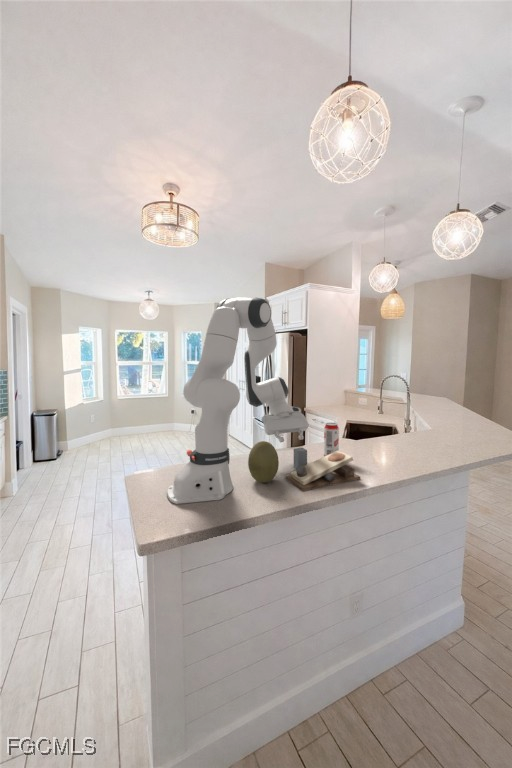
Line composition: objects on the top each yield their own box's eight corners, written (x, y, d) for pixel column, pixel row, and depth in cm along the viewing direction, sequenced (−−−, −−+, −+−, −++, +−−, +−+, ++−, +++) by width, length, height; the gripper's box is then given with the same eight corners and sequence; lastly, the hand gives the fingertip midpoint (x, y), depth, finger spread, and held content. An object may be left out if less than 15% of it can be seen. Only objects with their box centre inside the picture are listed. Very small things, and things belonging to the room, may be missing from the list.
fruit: (244, 478, 121) (243, 439, 120) (271, 473, 125) (271, 436, 124) (254, 489, 110) (254, 447, 109) (284, 484, 114) (283, 443, 113)
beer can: (322, 460, 140) (322, 424, 138) (326, 456, 145) (326, 421, 144) (336, 462, 137) (336, 426, 135) (340, 458, 142) (340, 423, 141)
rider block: (298, 470, 128) (298, 451, 127) (293, 467, 132) (293, 448, 131) (307, 469, 129) (307, 450, 129) (302, 466, 133) (302, 447, 132)
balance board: (303, 485, 111) (301, 475, 110) (291, 476, 119) (288, 467, 118) (353, 460, 118) (351, 450, 118) (338, 453, 127) (336, 444, 126)
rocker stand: (301, 490, 109) (301, 479, 109) (285, 478, 120) (285, 468, 120) (360, 479, 118) (360, 468, 118) (340, 468, 129) (340, 459, 129)
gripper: (262, 411, 138) (272, 439, 130) (303, 407, 146) (315, 433, 137) (258, 419, 142) (267, 447, 134) (298, 415, 150) (309, 441, 142)
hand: (292, 440), depth 136 cm, fingers open, 8 cm apart
